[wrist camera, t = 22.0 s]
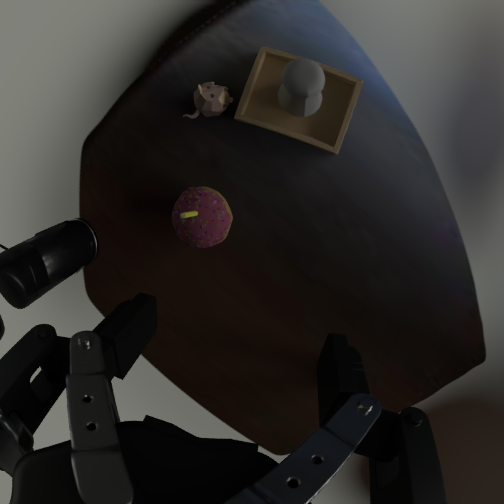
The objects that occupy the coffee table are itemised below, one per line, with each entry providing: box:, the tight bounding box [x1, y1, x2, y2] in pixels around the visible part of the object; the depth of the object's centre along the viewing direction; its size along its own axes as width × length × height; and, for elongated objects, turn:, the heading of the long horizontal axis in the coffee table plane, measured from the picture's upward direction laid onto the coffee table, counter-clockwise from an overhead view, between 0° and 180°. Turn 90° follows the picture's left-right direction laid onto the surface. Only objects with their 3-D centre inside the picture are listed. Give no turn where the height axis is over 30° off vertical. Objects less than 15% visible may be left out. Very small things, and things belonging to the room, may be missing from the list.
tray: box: [234, 46, 363, 154], centre depth 33 cm, size 15×12×3 cm
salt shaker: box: [278, 58, 325, 117], centre depth 28 cm, size 6×6×13 cm
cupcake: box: [171, 187, 233, 248], centre depth 36 cm, size 9×8×12 cm
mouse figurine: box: [183, 82, 233, 118], centre depth 33 cm, size 5×8×7 cm, turn 113°
